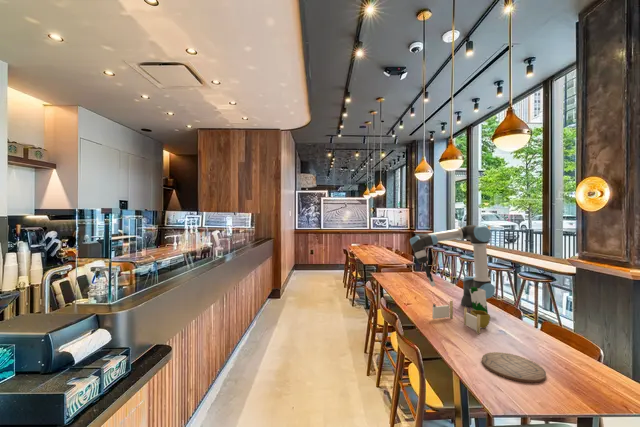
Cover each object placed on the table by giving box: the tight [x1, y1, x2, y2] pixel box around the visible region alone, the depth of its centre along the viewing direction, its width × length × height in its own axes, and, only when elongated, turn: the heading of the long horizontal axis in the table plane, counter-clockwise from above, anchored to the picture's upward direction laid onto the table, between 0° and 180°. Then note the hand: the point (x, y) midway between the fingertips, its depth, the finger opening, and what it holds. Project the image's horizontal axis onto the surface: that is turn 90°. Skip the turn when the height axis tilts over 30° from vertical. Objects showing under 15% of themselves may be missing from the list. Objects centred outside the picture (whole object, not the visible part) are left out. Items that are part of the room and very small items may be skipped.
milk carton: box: [470, 287, 489, 314], centre depth 208 cm, size 9×9×20 cm
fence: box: [449, 300, 481, 335], centre depth 189 cm, size 28×3×12 cm, turn 10°
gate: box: [432, 303, 450, 320], centre depth 200 cm, size 13×2×10 cm, turn 106°
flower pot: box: [470, 309, 491, 329], centre depth 187 cm, size 9×9×9 cm
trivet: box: [481, 351, 547, 385], centre depth 135 cm, size 25×25×2 cm
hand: (433, 285), depth 206 cm, fingers open, 13 cm apart
